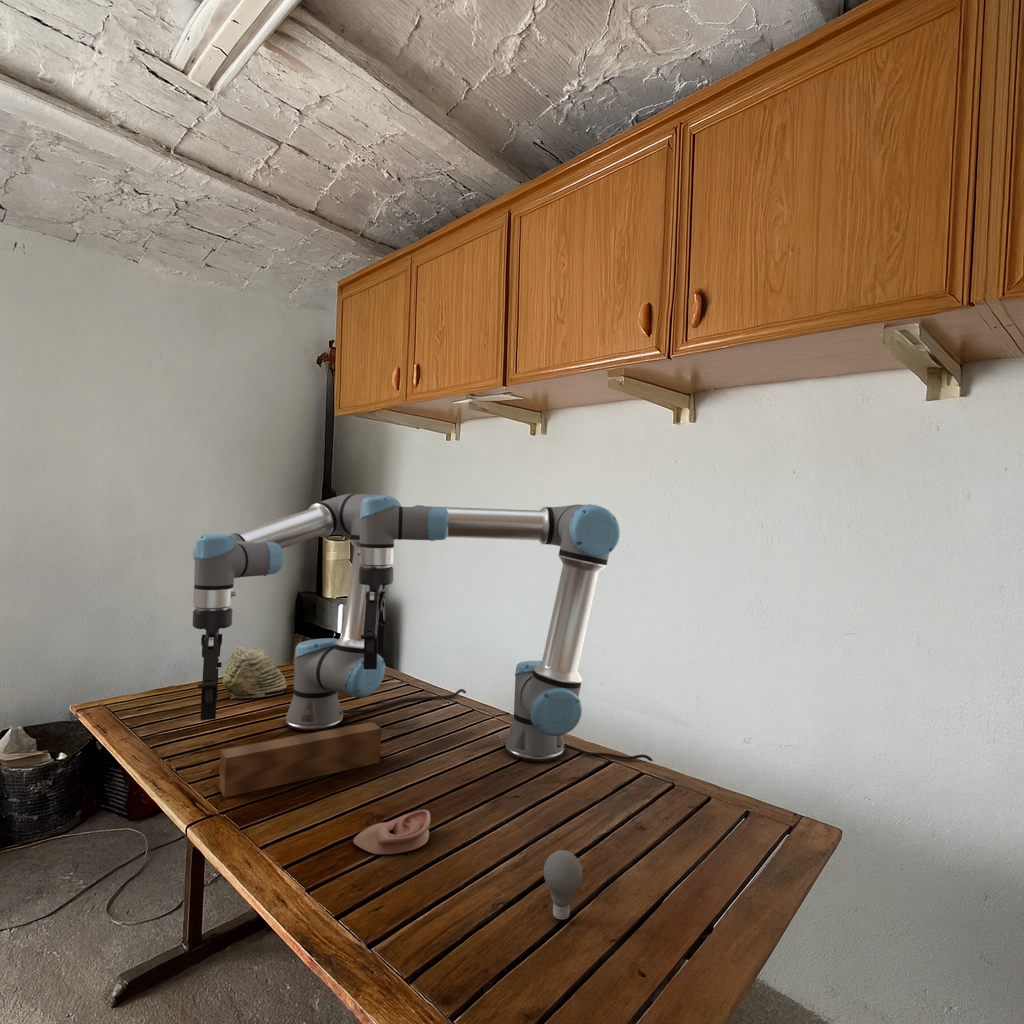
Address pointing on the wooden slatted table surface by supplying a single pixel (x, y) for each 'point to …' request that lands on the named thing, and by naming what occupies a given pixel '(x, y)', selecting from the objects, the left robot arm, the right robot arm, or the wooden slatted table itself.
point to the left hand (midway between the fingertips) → (209, 708)
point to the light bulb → (562, 880)
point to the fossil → (252, 674)
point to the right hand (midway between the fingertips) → (374, 660)
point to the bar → (298, 758)
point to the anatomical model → (396, 834)
